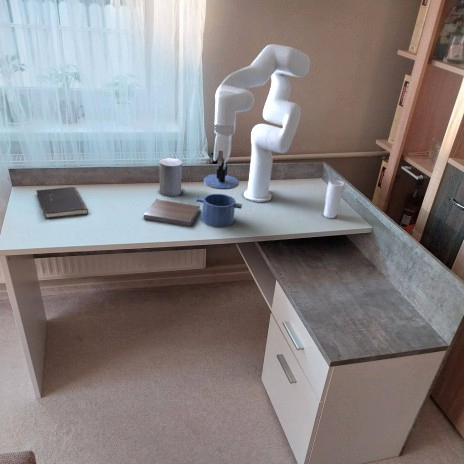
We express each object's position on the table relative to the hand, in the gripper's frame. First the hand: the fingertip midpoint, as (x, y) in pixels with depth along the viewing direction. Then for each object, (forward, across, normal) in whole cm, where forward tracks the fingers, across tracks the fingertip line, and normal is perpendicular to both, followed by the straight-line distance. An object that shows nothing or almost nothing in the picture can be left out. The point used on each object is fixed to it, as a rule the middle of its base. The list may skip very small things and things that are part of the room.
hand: (221, 176), depth 186 cm
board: (+18, +3, -19) cm, 26 cm away
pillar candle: (+18, -19, -26) cm, 37 cm away
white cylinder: (+19, -20, +45) cm, 53 cm away
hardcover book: (+18, +10, -63) cm, 66 cm away
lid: (+2, 0, 0) cm, 2 cm away
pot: (+18, +1, 0) cm, 18 cm away
